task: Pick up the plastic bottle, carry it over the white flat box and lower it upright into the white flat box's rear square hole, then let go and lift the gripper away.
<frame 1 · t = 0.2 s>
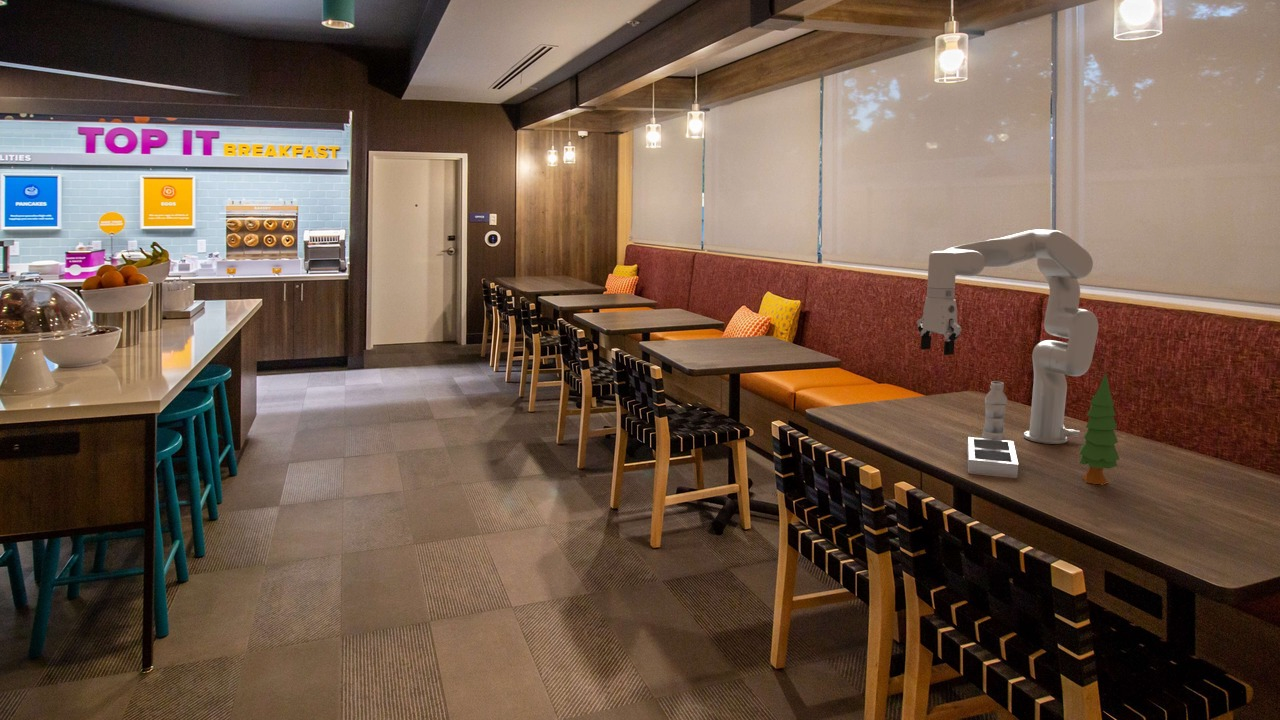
hand: (936, 351, 245), 31 cm above the table, tool pointing down, fingers open, 9 cm apart
decorative tree: (1096, 482, 225), on the table
plastic bottle: (992, 446, 258), on the table
white flat box: (990, 463, 241), on the table
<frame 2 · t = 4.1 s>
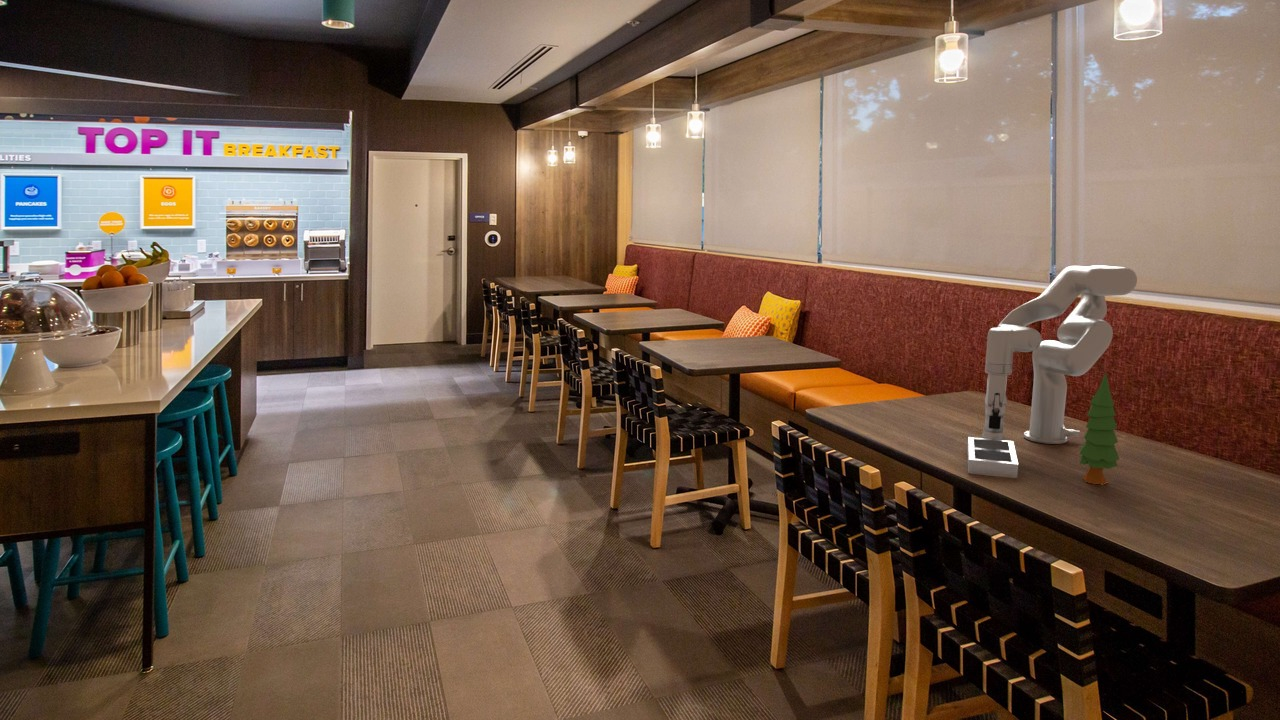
hand: (993, 425, 257), 7 cm above the table, tool pointing down, fingers closed on plastic bottle, 5 cm apart
plastic bottle: (992, 446, 258), on the table, touching gripper
everything else where it was.
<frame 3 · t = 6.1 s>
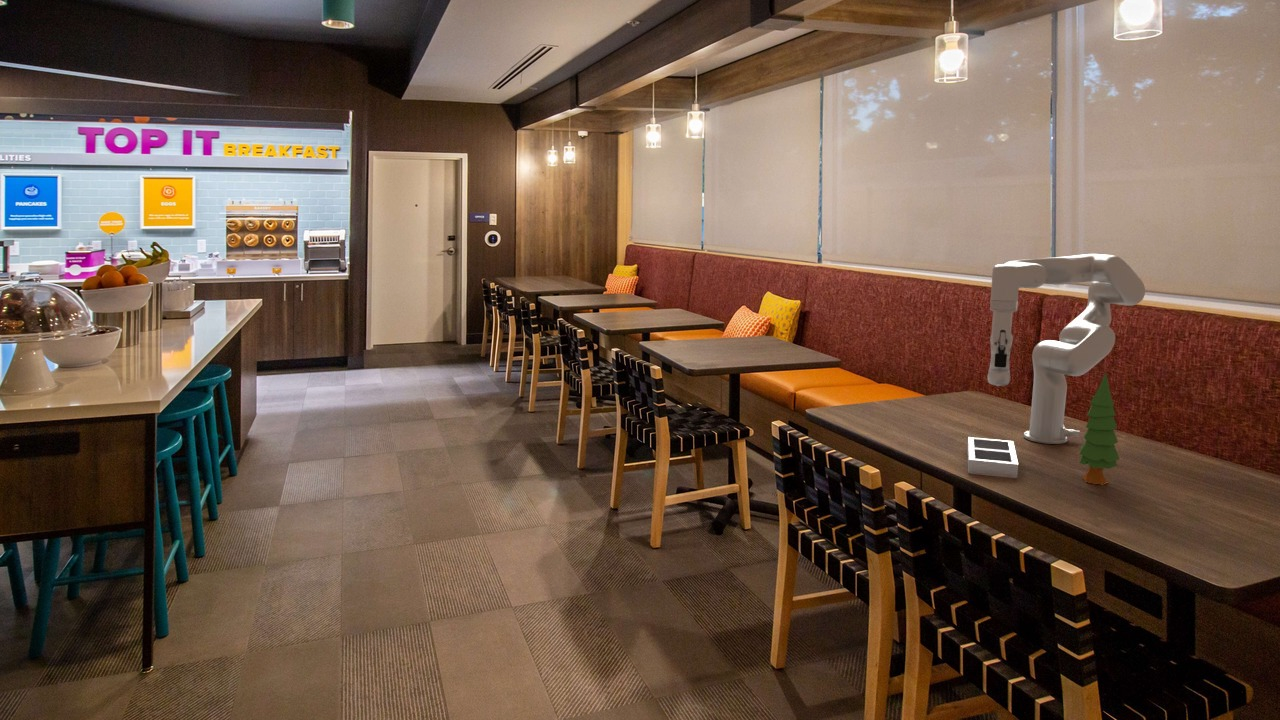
hand: (999, 364, 254), 26 cm above the table, tool pointing down, fingers closed on plastic bottle, 5 cm apart
plastic bottle: (998, 386, 255), point 19 cm above the table, touching gripper
everything else where it was.
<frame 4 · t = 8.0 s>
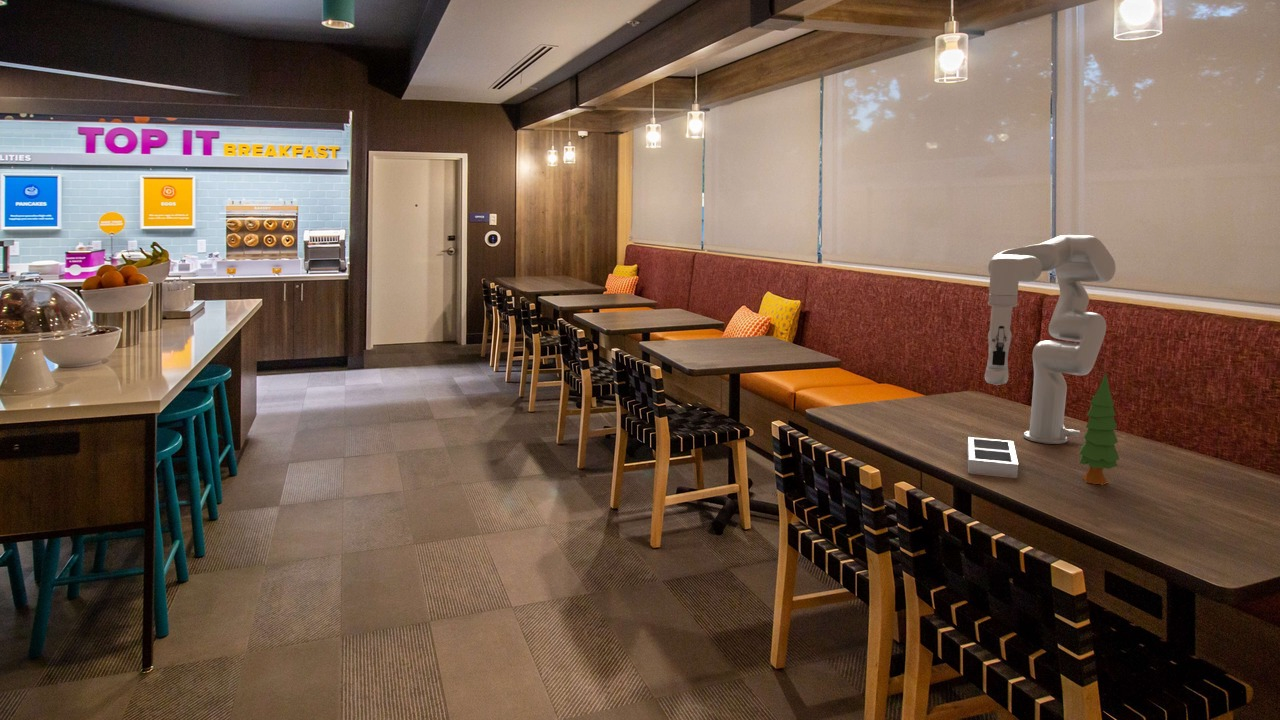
hand: (997, 362, 241), 29 cm above the table, tool pointing down, fingers closed on plastic bottle, 5 cm apart
plastic bottle: (995, 385, 242), point 22 cm above the table, touching gripper
everything else where it was.
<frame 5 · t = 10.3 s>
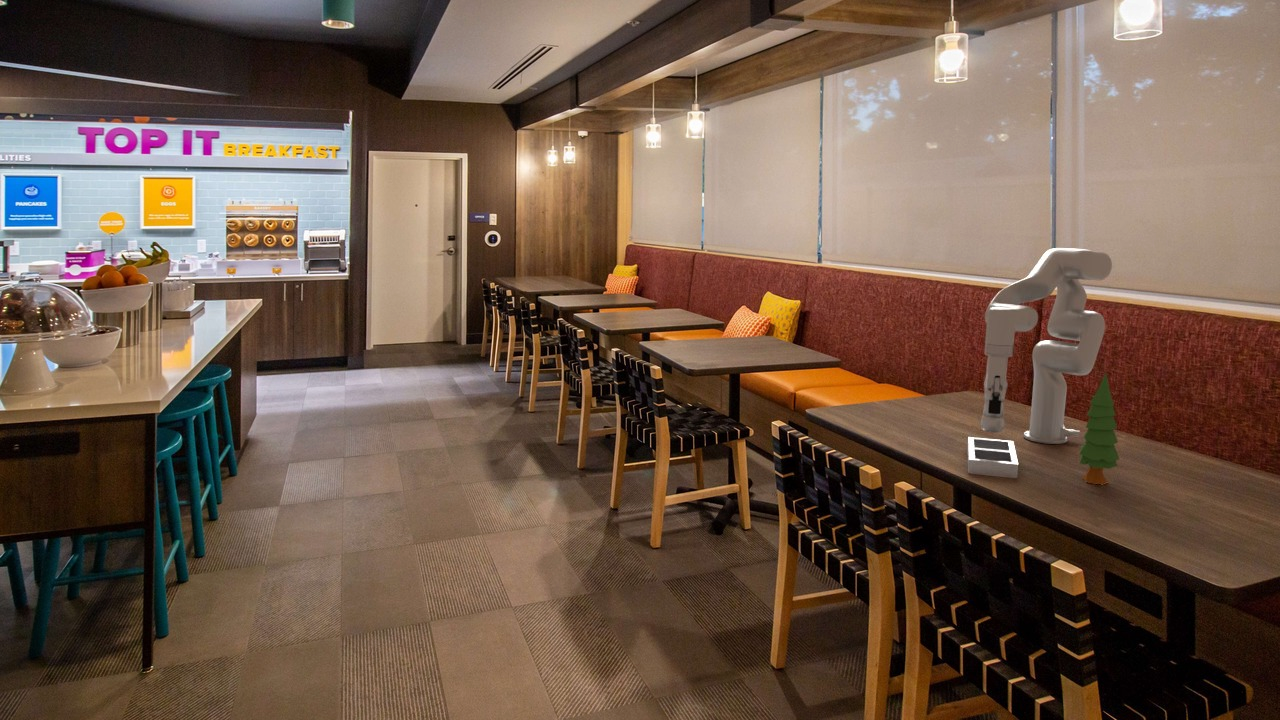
hand: (993, 410, 244), 14 cm above the table, tool pointing down, fingers closed on plastic bottle, 5 cm apart
plastic bottle: (991, 432, 245), point 8 cm above the table, touching gripper
everything else where it was.
when the fingers open (8 cm above the table, at t = 12.1 s): plastic bottle drops 1 cm, resting in white flat box.
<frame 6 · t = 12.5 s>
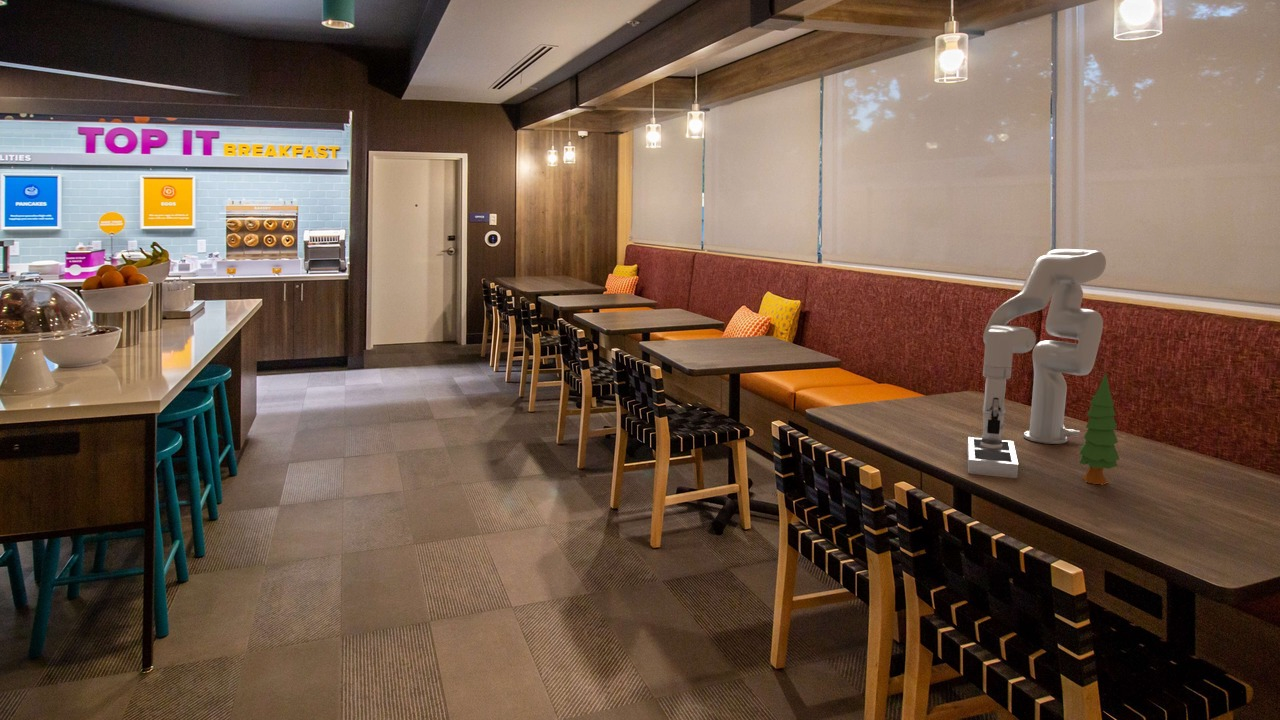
hand: (992, 429, 245), 9 cm above the table, tool pointing down, fingers open, 9 cm apart
plastic bottle: (990, 458, 246), resting in white flat box
everything else where it was.
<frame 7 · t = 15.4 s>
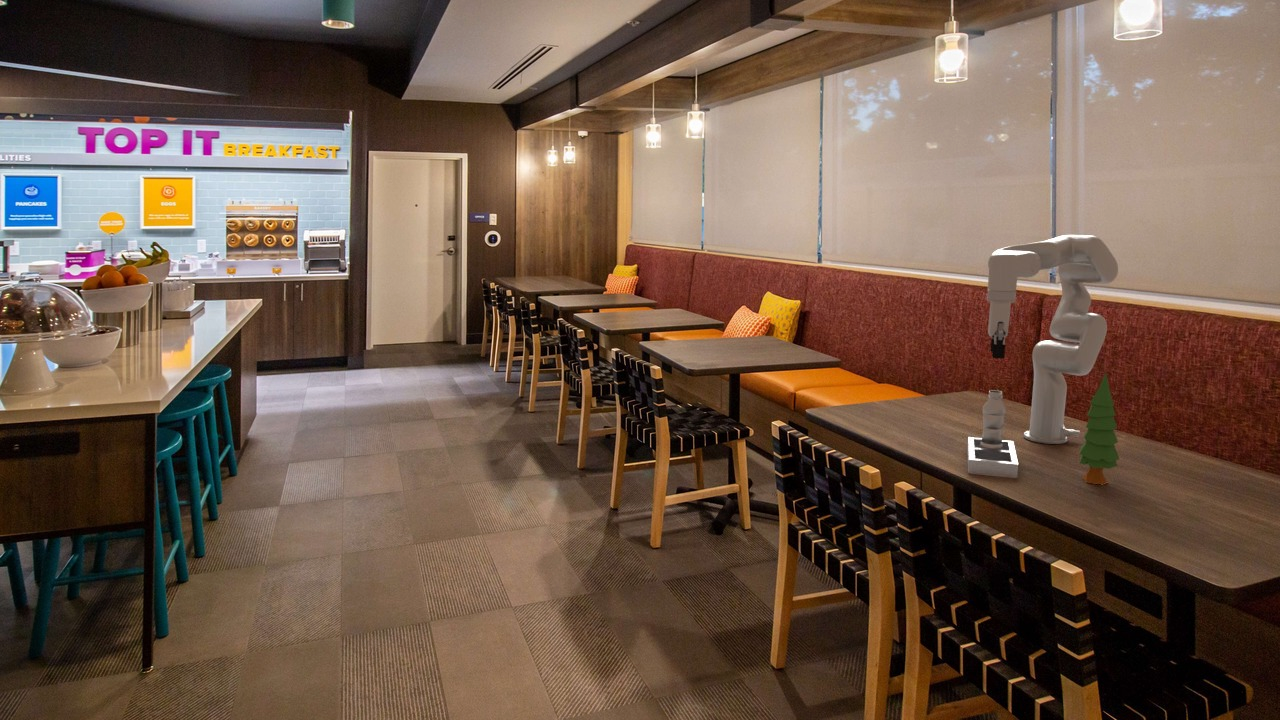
hand: (997, 354, 243), 31 cm above the table, tool pointing down, fingers open, 9 cm apart
nothing on the table moved.
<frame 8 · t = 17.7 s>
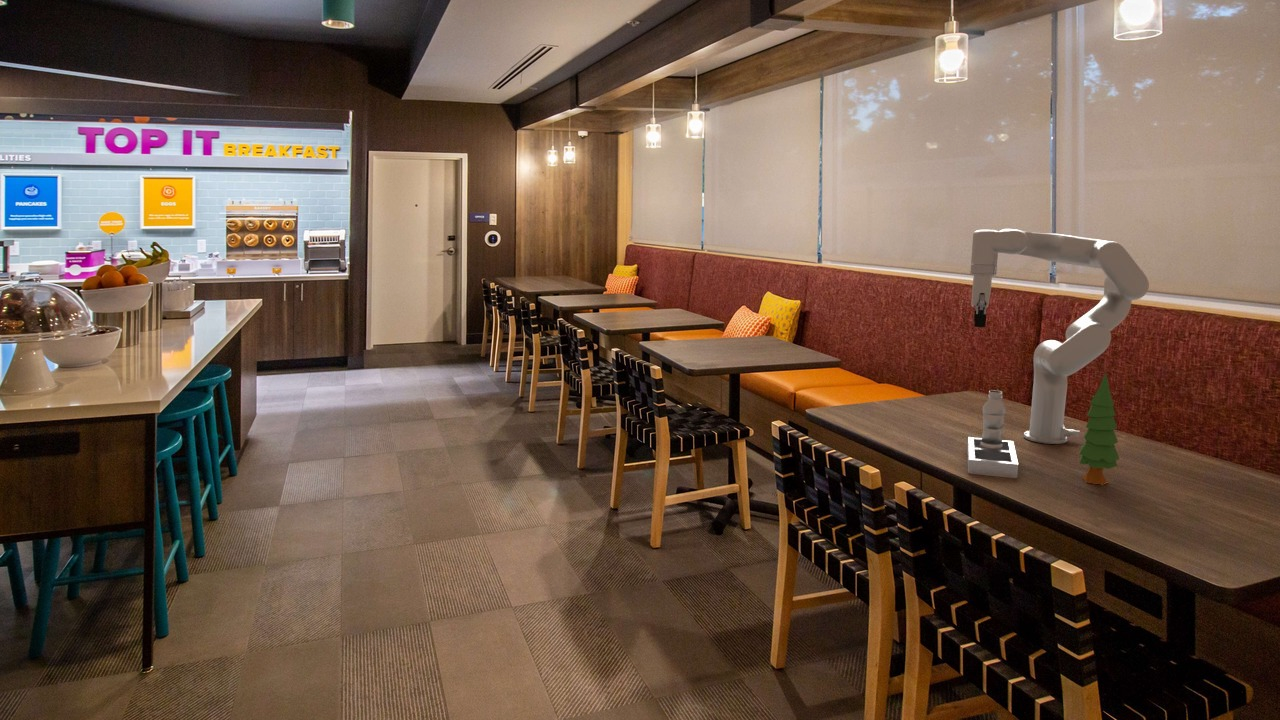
hand: (979, 324, 262), 36 cm above the table, tool pointing down, fingers open, 9 cm apart
nothing on the table moved.
at the end: plastic bottle 0.2 cm from the target spot on the white flat box, point 0.0 cm above the white flat box's base; plastic bottle tilted 0°; the gripper is holding nothing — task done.
